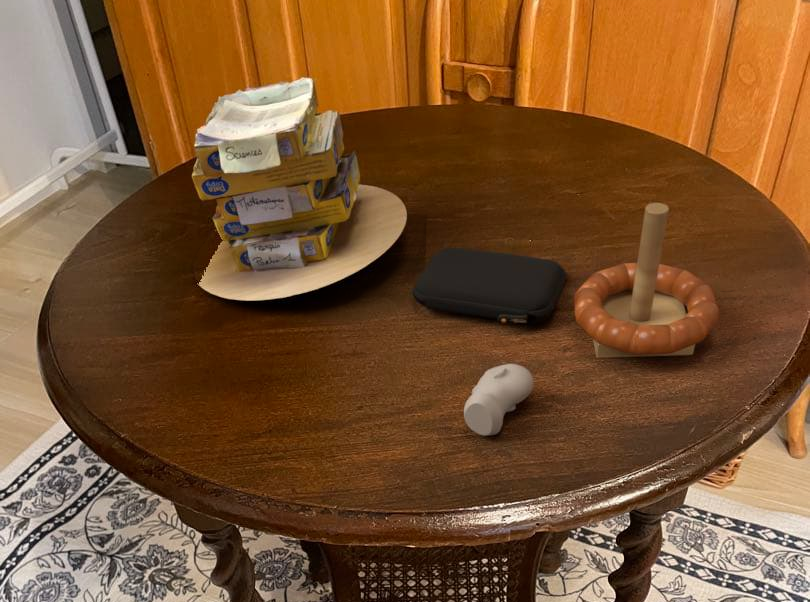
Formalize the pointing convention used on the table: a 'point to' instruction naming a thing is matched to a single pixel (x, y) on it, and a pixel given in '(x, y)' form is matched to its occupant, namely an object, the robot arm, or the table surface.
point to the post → (646, 287)
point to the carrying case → (490, 285)
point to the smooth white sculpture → (496, 397)
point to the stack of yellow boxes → (286, 196)
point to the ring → (646, 336)
